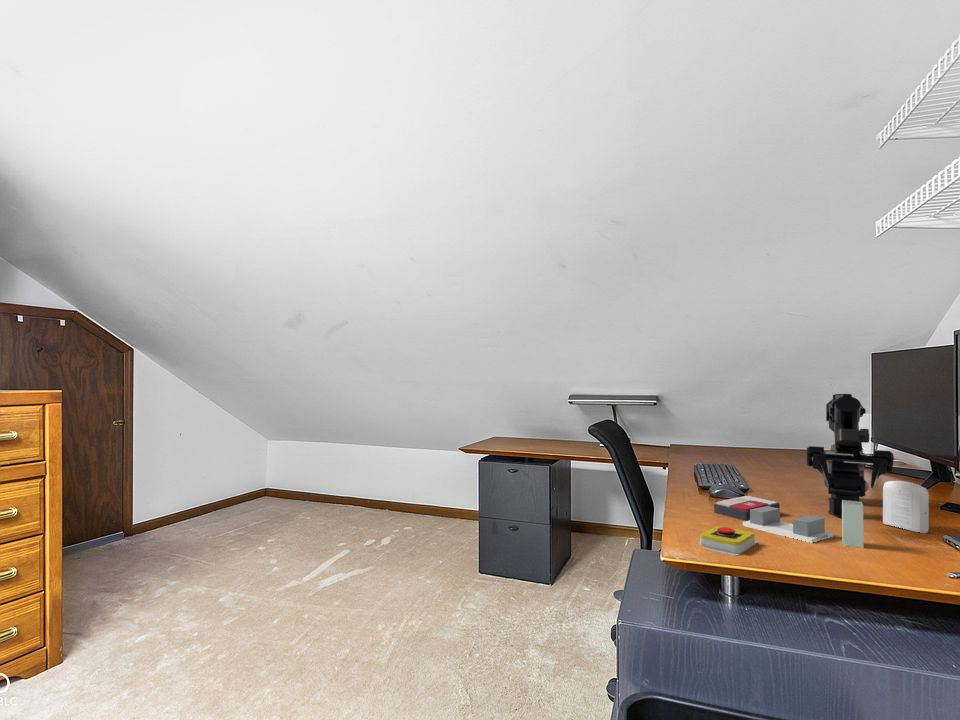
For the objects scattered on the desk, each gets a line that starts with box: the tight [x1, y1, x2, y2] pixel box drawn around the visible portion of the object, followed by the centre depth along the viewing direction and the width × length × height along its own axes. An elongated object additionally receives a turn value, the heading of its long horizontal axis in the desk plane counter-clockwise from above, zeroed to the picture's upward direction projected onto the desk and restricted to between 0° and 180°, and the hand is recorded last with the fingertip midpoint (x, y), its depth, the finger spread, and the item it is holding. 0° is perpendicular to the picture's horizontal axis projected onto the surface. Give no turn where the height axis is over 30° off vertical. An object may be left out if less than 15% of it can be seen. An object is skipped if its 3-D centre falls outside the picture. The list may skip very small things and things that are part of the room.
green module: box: [841, 500, 864, 549], centre depth 136 cm, size 4×4×10 cm
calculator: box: [713, 495, 781, 522], centre depth 165 cm, size 11×4×15 cm
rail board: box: [742, 506, 834, 544], centre depth 147 cm, size 18×10×4 cm, turn 32°
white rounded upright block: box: [882, 480, 930, 534], centre depth 150 cm, size 10×4×12 cm, turn 23°
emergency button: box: [699, 525, 759, 557], centre depth 135 cm, size 9×4×15 cm
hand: (850, 485), depth 142 cm, fingers open, 9 cm apart
